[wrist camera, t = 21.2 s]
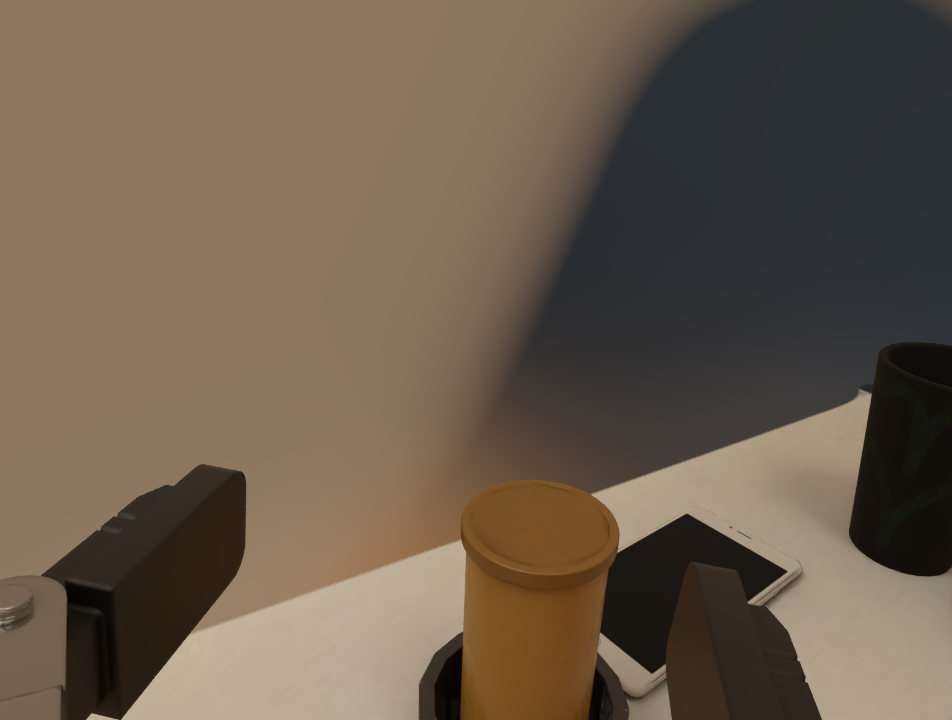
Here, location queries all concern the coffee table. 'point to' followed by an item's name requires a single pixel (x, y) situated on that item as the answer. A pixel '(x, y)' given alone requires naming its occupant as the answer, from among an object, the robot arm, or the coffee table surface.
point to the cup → (907, 462)
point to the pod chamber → (446, 678)
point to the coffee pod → (533, 600)
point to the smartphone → (676, 588)
